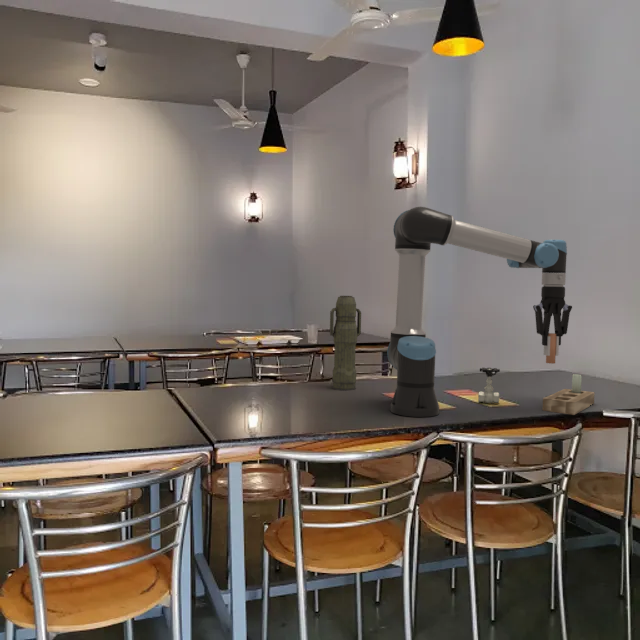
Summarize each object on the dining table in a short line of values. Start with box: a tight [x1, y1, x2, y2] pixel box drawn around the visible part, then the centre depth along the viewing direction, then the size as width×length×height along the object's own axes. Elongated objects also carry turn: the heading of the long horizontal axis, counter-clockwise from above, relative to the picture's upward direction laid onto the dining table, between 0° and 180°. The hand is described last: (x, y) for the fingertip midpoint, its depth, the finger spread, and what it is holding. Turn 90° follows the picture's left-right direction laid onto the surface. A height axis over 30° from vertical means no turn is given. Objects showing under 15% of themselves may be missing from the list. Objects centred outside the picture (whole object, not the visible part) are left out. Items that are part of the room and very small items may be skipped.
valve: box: [478, 367, 501, 404], centre depth 217 cm, size 7×7×12 cm
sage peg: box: [571, 373, 583, 394], centre depth 220 cm, size 3×3×10 cm
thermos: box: [329, 295, 362, 391], centre depth 240 cm, size 9×12×35 cm
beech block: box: [541, 388, 596, 416], centre depth 214 cm, size 10×24×4 cm, turn 143°
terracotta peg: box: [545, 332, 556, 365], centre depth 216 cm, size 3×3×10 cm
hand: (550, 355), depth 216 cm, fingers closed on terracotta peg, 2 cm apart
